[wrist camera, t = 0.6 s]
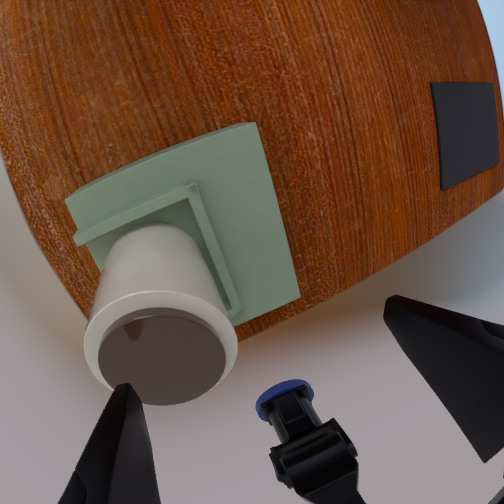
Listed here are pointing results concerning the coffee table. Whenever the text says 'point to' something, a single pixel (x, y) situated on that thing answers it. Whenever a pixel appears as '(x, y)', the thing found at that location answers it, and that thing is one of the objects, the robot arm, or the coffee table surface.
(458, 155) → the mat
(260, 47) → the coffee table surface
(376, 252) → the coffee table surface
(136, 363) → the jar
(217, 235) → the stand
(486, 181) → the coffee table surface
